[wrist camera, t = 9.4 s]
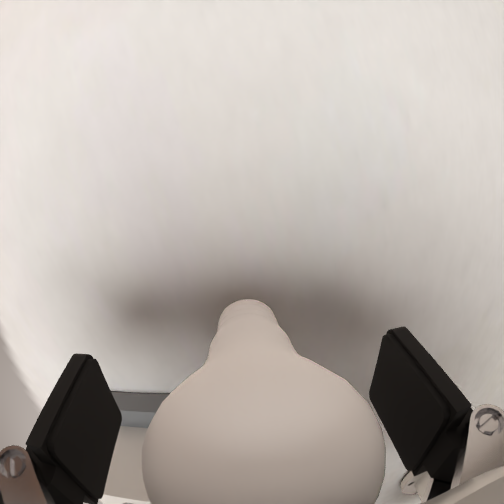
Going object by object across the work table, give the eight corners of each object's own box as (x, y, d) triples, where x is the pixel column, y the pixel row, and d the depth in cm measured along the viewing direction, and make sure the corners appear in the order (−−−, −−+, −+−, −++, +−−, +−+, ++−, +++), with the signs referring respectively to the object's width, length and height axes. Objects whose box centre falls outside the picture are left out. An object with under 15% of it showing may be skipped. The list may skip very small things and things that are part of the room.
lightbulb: (284, 229, 13) (438, 474, 2) (325, 337, 14) (416, 536, 4) (156, 284, 13) (58, 526, 2) (216, 379, 15) (217, 582, 4)
